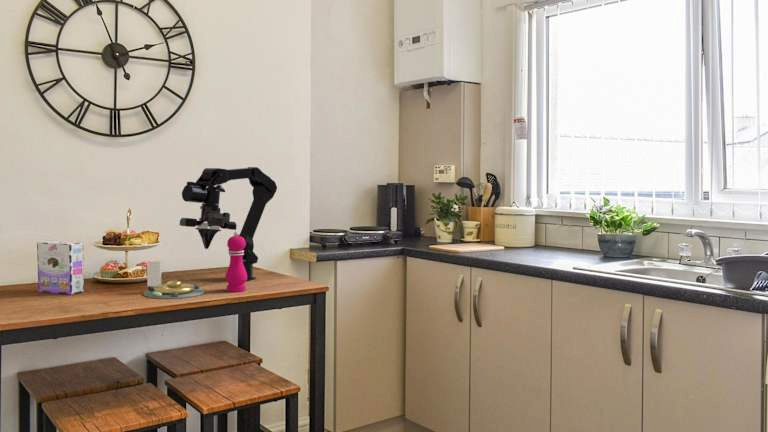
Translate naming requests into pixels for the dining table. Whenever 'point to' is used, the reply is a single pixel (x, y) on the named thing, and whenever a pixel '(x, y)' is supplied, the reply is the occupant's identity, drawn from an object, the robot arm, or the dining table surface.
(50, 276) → the candy box
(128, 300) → the dining table surface
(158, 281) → the footscrew wheel
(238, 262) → the pepper mill
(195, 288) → the tribrach plate
